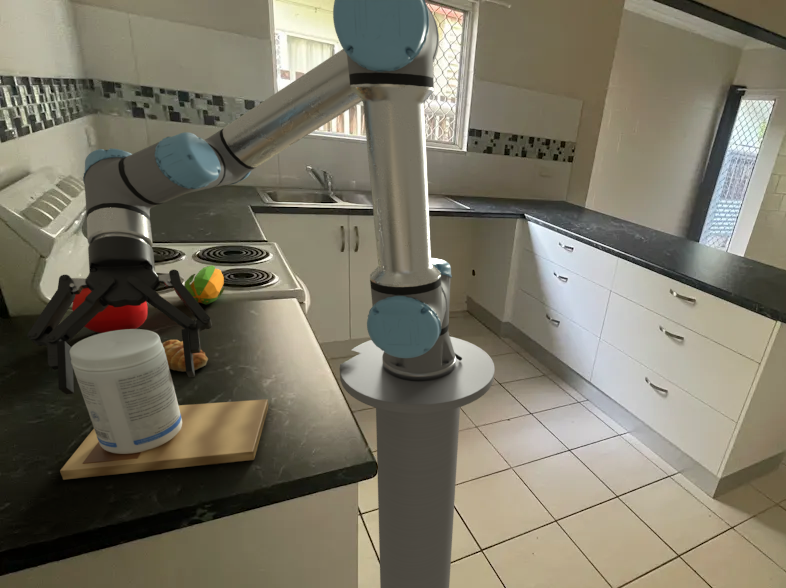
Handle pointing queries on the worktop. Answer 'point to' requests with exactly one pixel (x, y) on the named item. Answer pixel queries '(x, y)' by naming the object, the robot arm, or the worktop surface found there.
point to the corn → (206, 285)
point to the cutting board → (182, 442)
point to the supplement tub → (127, 389)
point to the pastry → (181, 356)
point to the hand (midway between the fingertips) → (131, 382)
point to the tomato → (113, 315)
